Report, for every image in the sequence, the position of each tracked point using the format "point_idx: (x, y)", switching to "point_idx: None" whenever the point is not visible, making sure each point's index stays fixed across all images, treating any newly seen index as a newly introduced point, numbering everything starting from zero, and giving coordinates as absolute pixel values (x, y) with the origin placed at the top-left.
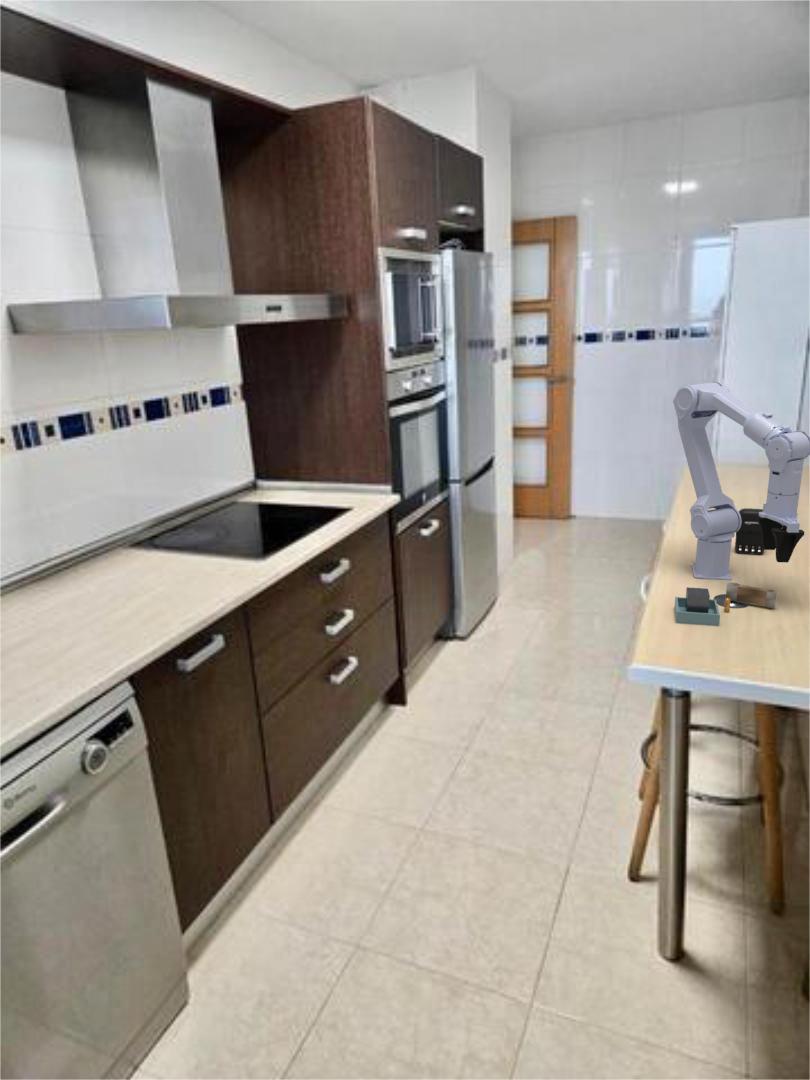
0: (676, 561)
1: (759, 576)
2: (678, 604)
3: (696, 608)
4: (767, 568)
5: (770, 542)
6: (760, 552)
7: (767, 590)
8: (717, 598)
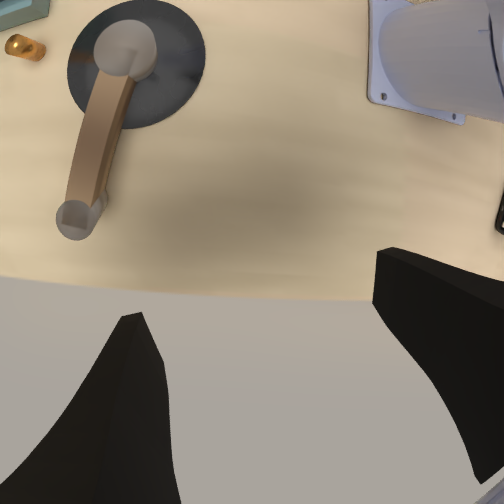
0: None
1: (400, 197)
2: None
3: None
4: (443, 228)
5: (406, 307)
6: (500, 226)
7: (77, 204)
8: (149, 12)
